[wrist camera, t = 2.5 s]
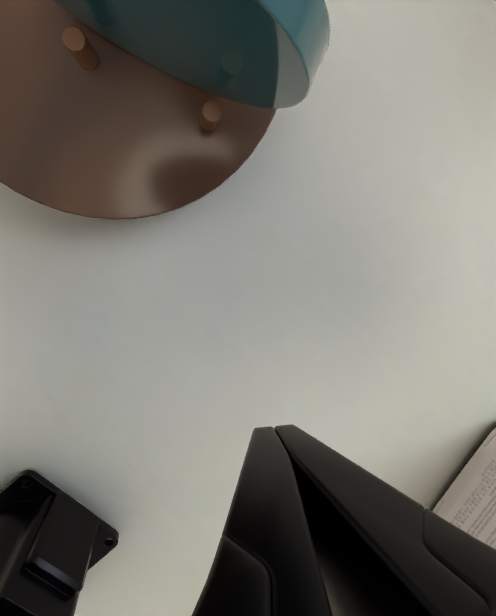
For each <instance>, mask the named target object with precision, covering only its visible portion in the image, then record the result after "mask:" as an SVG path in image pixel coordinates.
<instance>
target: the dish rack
mask: <svg viewBox="0 0 496 616" xmlns="http://www.w3.org/2000/svg"><path fill="white" fill-rule="evenodd" d="M329 38H330V23H329V14H328V11H327V7H326V4H325V0H0V182H1V183H3V184H4V185H6V186H8V187H9V188H11V189H12V190H14V191H15V192H17V193H19V194H21V195H23V196H25V197H28V198H30V199H32V200H34V201H36V202H38V203H40V204H43V205H46V206H48V207H51V208H54V209H57V210H60V211H63V212H67V213H71V214H76V215H80V216H85V217H91V218H102V219H136V218H142V217H148V216H154V215H159V214H162V213H165V212H169V211H172V210H175V209H178V208H181V207H183V206H185V205H187V204H189V203H191V202H193V201H196V200H198V199H200V198H201V197H203V196H205V195H206V194H208V193H209V192H211V191H212V190H214V189H215V188H217V187H218V186H220V185H221V184H222V183H223V182H224V181H225V180H227V179H228V178H229V177H230V176H231V175H232V174H233V173H235V172H236V171H237V170H238V168H239V167H240V166H241V165H242V164H243V163H244V162H245V161H246V159H247V158H248V157H249V156H250V155H251V154H252V152H253V151H254V149H255V148H256V146H257V145H258V143H259V142H260V140H261V139H262V137H263V136H264V134H265V132H266V130H267V128H268V126H269V124H270V122H271V120H272V118H273V116H274V114H275V112H276V109H279V108H288V107H292V106H295V105H297V104H298V103H300V102H302V101H303V99H304V98H305V97H306V96H307V95H308V92H309V90H310V88H311V85H312V83H313V81H314V79H315V76H316V74H317V72H318V70H319V67H320V65H321V63H322V60H323V58H324V56H325V53H326V51H327V48H328V46H329Z"/></svg>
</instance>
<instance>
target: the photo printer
mask: <svg viewBox="0 0 496 616" xmlns="http://www.w3.org/2000/svg"><path fill="white" fill-rule="evenodd" d="M432 512H434V513H435V514H437V515H438V516H440V517H442V518H443V519H445V520H446V521H448V522H450V523H451V524H453V525H455V526H456V527H458V528H460V529H461V530H463V531H465V532H466V533H468V534H470V535H471V536H473V537H475V538H476V539H478V540H480V541H482V542H483V543H485V544H487V545H489V546H491V547H492V548H494V549H496V428H495V429H494V430H493V431H492V432H491V433H490V434H489V436H488V437H487V438H486V439H485V440H484V442H483V443H482V445H481V446H480V447H479V448H478V450H477V451H476V452H475V454H474V455H473V456H472V458H471V459H470V460H469V462H468V463H467V464H466V466H465V467H464V468H463V470H462V471H461V472H460V474H459V475H458V476H457V478H456V479H455V480H454V482H453V483H452V485H451V486H450V487H449V489H448V490H447V491H446V493H445V494H444V495H443V497H442V498H441V499H440V500H439V502H438V503H437V505H436V506H435V508H434V509H433V510H432Z"/></svg>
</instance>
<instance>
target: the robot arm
mask: <svg viewBox="0 0 496 616" xmlns="http://www.w3.org/2000/svg"><path fill="white" fill-rule="evenodd" d="M24 479H28V480H30V481H31V482H29V483H28V482H26V481H25V480H24ZM107 538H111V540H107ZM118 539H119V533H118V532H117V531H116V530H115V529H114V528H112V527H111V526H110V525H108V524H107V523H105V522H104V521H103V520H101V519H100V518H99V517H97V516H96V515H95V514H93V513H92V512H91V511H89V510H88V509H86V508H85V507H84V506H82V505H81V504H80V503H78V502H77V501H75V500H74V499H73V498H71V497H70V496H69V495H67V494H66V493H64V492H63V491H62V490H60V489H59V488H57V487H56V486H55V485H53V484H52V483H51V482H49V481H48V480H46V479H45V478H44V477H42V476H41V475H40V474H38V473H37V472H35V471H33V470H25V471H23V472H21V473H20V474H19V475H18V476H17V477H16V478H14V479H13V480H12V481H11V482H10V483H9V484H8V485H7V486H5V487H4V488H3V489H2V490H1V491H0V616H74V613H75V609H76V605H77V601H78V597H79V593H80V591H81V590H82V588H83V585H84V581H85V577H86V573H87V571H88V570H89V569H90V568H91V567H92V566H93V565H95V564H96V563H97V562H98V561H99V560H100V559H102V558H103V557H104V556H105V555H106V554H108V553H109V552H110V551H111V550H112V549H113V548H115V547H116V545H117V544H118ZM192 616H496V549H494V548H492V547H491V546H489V545H487V544H485V543H483V542H482V541H480V540H478V539H476V538H475V537H473V536H471V535H470V534H468V533H466V532H465V531H463V530H461V529H460V528H458V527H456V526H455V525H453V524H451V523H450V522H448V521H446V520H445V519H443V518H442V517H440V516H438V515H437V514H435V513H434V512H432V511H430V510H429V509H425V510H424V507H423V506H422V505H421V504H419V503H417V502H416V501H414V500H413V499H411V498H409V497H408V496H406V495H405V494H403V493H401V492H400V491H398V490H397V489H395V488H393V487H392V486H390V485H389V484H387V483H386V482H384V481H382V480H381V479H379V478H378V477H376V476H374V475H373V474H371V473H370V472H368V471H366V470H365V469H363V468H362V467H360V466H358V465H357V464H355V463H354V462H352V461H350V460H349V459H347V458H346V457H344V456H343V455H341V454H339V453H338V452H336V451H335V450H333V449H331V448H330V447H328V446H327V445H325V444H323V443H322V442H320V441H319V440H317V439H315V438H314V437H312V436H311V435H309V434H307V433H306V432H304V431H303V430H301V429H299V428H298V427H296V426H295V425H281V426H276V427H275V428H273V427H260V428H255V429H254V430H253V433H252V436H251V440H250V443H249V446H248V450H247V453H246V456H245V460H244V463H243V466H242V470H241V473H240V476H239V480H238V483H237V486H236V490H235V493H234V496H233V500H232V503H231V506H230V510H229V513H228V516H227V520H226V523H225V526H224V530H223V533H222V537H221V539H220V542H219V545H218V549H217V552H216V555H215V558H214V561H213V564H212V567H211V570H210V573H209V575H208V578H207V581H206V584H205V586H204V588H203V591H202V593H201V595H200V598H199V600H198V602H197V605H196V607H195V609H194V611H193V614H192Z"/></svg>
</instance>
